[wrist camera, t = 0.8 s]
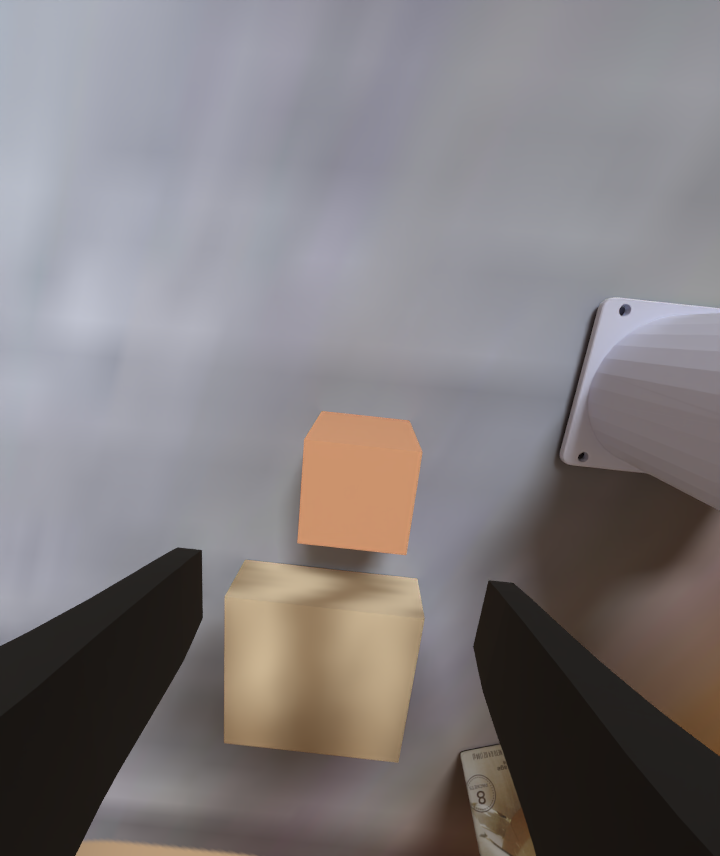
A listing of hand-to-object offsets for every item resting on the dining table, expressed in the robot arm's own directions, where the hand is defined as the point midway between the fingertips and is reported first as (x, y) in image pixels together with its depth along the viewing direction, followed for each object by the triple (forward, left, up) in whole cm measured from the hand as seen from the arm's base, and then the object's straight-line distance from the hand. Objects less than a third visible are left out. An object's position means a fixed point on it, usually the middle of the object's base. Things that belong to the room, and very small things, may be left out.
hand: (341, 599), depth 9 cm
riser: (+1, +12, -10) cm, 16 cm away
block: (0, 0, -10) cm, 10 cm away
